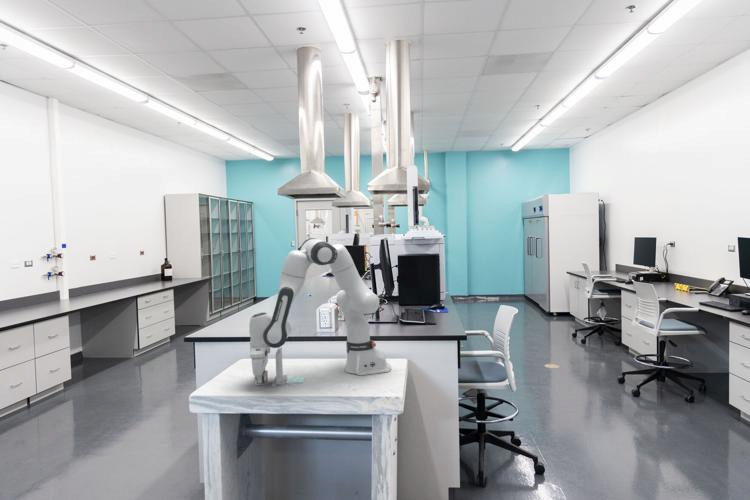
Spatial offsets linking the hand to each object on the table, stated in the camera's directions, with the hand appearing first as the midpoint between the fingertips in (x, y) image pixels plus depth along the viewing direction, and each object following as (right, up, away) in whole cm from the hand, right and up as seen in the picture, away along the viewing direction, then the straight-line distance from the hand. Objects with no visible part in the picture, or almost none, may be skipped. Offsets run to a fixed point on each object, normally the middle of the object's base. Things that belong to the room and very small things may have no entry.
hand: (261, 379), depth 204 cm
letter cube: (0, -2, 0) cm, 2 cm away
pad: (+15, -1, +2) cm, 15 cm away
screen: (+8, -1, +2) cm, 8 cm away
